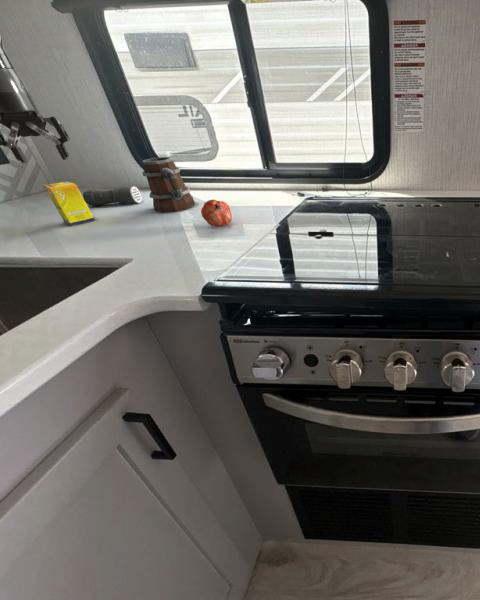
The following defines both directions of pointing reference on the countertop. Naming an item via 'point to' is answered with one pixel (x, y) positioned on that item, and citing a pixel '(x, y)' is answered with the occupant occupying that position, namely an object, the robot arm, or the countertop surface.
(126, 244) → the countertop surface
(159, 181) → the mug
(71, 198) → the supplement box
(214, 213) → the pomegranate
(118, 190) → the flashlight
